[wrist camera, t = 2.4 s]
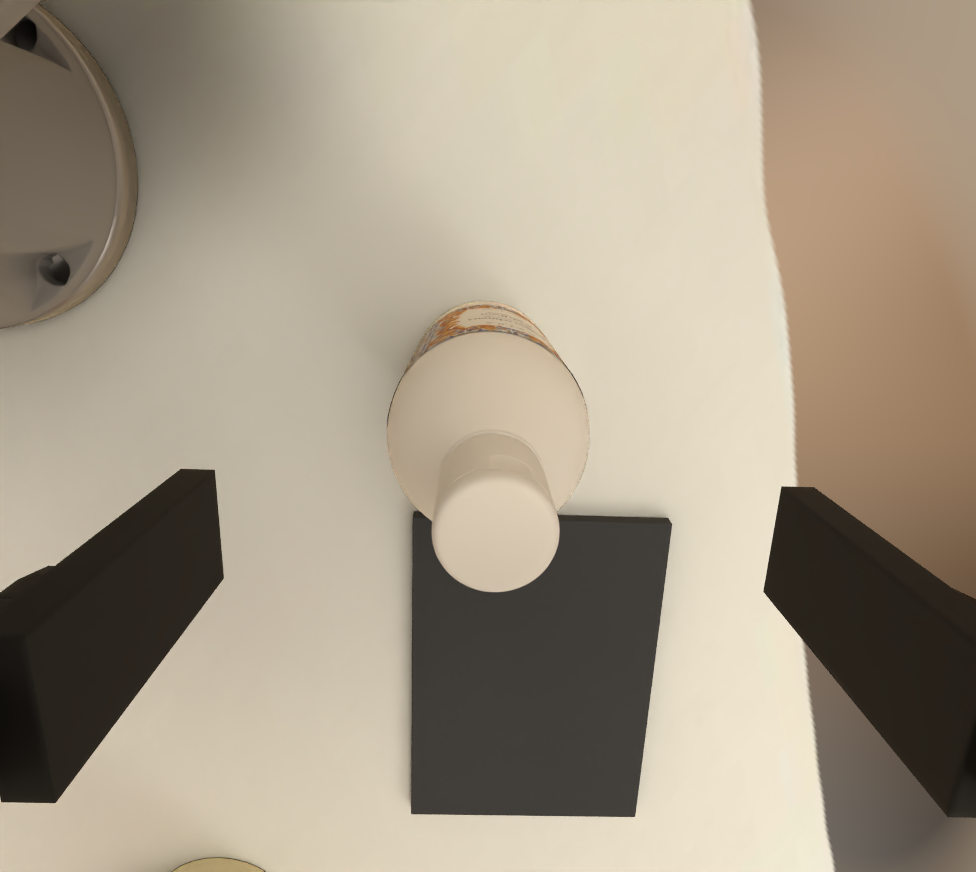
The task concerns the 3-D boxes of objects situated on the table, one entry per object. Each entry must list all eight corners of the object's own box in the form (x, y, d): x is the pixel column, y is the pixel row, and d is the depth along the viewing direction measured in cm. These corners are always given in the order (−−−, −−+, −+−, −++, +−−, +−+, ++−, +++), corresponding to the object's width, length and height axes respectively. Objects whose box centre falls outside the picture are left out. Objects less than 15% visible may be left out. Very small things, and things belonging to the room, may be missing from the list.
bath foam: (568, 321, 33) (696, 433, 14) (528, 447, 35) (594, 698, 16) (435, 282, 33) (380, 346, 14) (401, 414, 35) (311, 633, 15)
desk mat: (414, 511, 36) (412, 516, 35) (668, 517, 37) (672, 523, 36) (412, 803, 42) (411, 814, 41) (632, 806, 42) (635, 817, 42)
